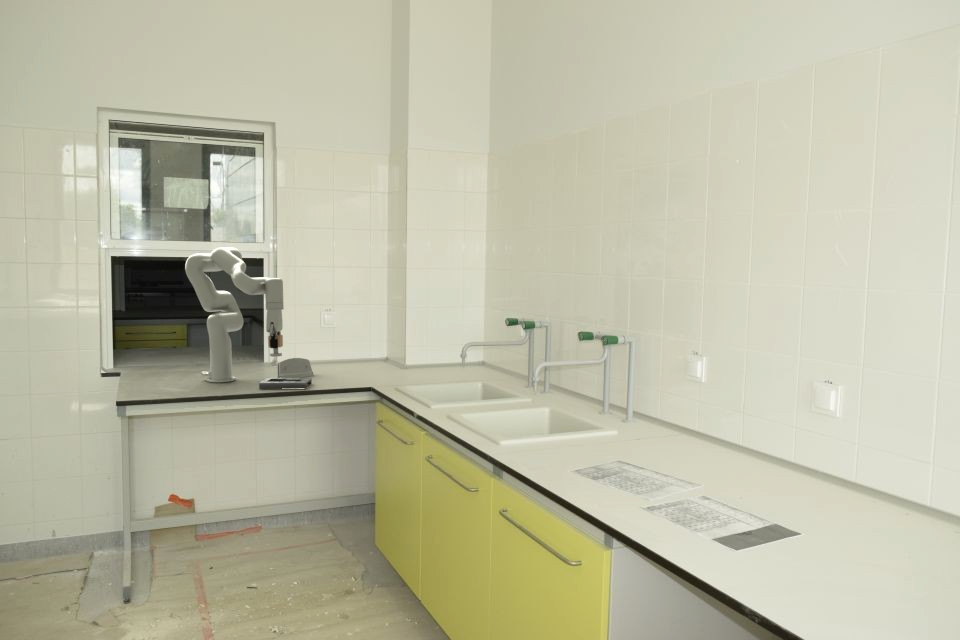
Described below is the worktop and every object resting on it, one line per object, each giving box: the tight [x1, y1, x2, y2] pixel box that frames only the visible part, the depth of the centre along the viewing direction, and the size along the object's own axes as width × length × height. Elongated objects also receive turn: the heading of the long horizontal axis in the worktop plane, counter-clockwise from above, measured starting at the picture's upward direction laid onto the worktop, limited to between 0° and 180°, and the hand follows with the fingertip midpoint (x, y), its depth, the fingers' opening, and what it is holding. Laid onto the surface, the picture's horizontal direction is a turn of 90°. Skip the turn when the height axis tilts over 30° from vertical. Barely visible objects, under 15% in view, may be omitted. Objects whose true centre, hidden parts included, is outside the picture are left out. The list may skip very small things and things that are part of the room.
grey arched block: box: [277, 357, 314, 378], centre depth 346 cm, size 17×5×10 cm, turn 125°
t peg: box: [267, 334, 284, 358], centre depth 319 cm, size 5×5×9 cm
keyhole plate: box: [258, 377, 313, 390], centre depth 320 cm, size 20×13×3 cm, turn 92°
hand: (275, 346), depth 319 cm, fingers closed on t peg, 5 cm apart
